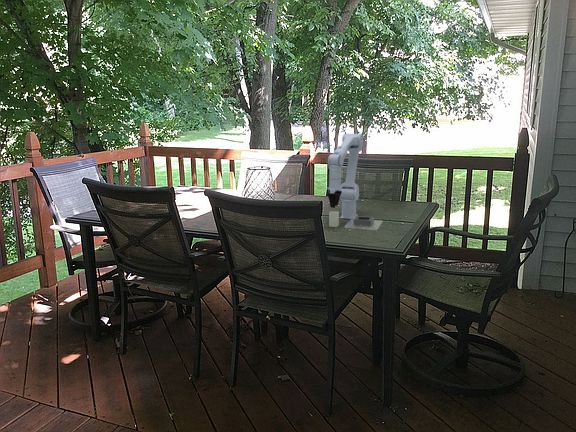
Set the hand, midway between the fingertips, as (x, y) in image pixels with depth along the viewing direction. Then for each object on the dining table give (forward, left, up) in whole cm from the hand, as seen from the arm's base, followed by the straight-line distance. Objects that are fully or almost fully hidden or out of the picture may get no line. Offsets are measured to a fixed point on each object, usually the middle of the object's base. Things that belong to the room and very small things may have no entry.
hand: (334, 206), depth 250 cm
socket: (-5, +14, -10) cm, 18 cm away
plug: (0, 0, -10) cm, 10 cm away
